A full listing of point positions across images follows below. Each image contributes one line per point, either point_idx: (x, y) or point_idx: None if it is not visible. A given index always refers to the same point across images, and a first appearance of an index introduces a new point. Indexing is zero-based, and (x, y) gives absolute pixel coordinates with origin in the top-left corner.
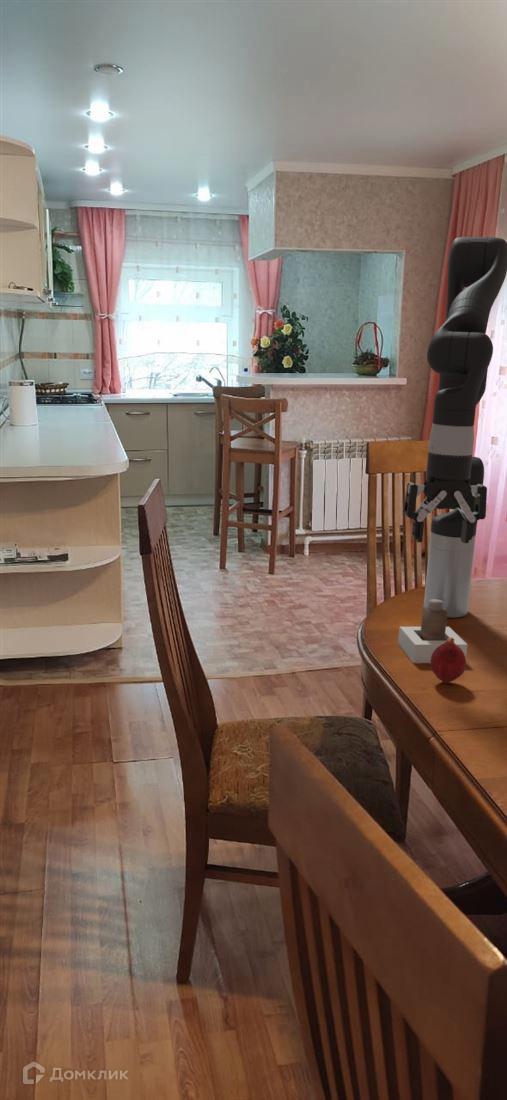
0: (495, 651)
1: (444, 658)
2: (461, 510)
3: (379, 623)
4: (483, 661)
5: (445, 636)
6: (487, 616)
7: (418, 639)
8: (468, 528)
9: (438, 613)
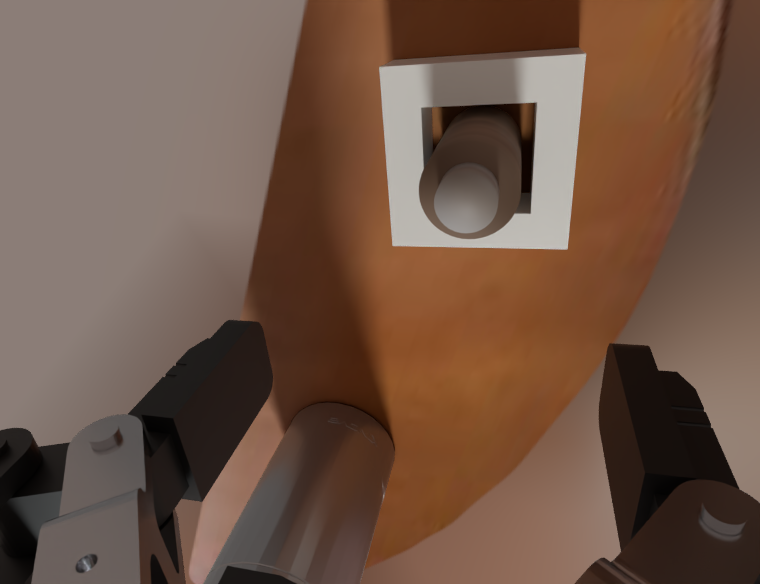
0: (277, 165)
1: None
2: (163, 559)
3: (553, 387)
4: (332, 78)
5: None
6: None
7: (548, 114)
8: (184, 385)
9: (471, 139)
